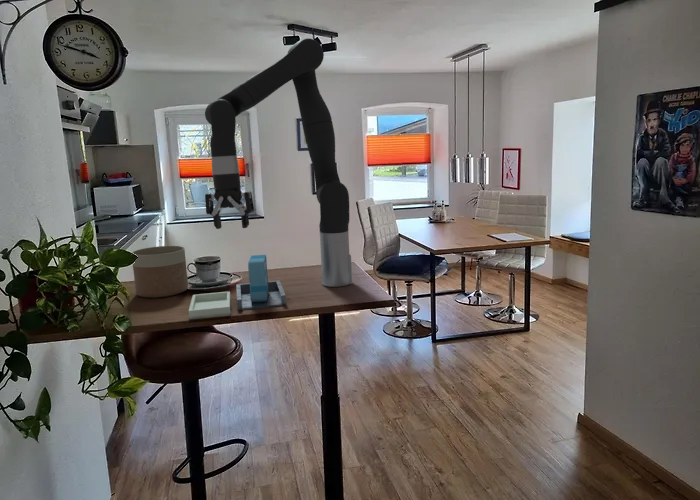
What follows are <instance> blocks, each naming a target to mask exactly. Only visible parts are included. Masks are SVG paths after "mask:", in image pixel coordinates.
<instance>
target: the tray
mask: <svg viewBox="0 0 700 500" xmlns="http://www.w3.org/2000/svg"><path fill="white" fill-rule="evenodd" d="M227 316H231V292H230V290H229V291H221V292H210V293H199V294H193V295H192V297H191V301H190V303H189V308H188V317H189V318H188V320H197V319H208V318H218V317H227Z"/></svg>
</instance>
